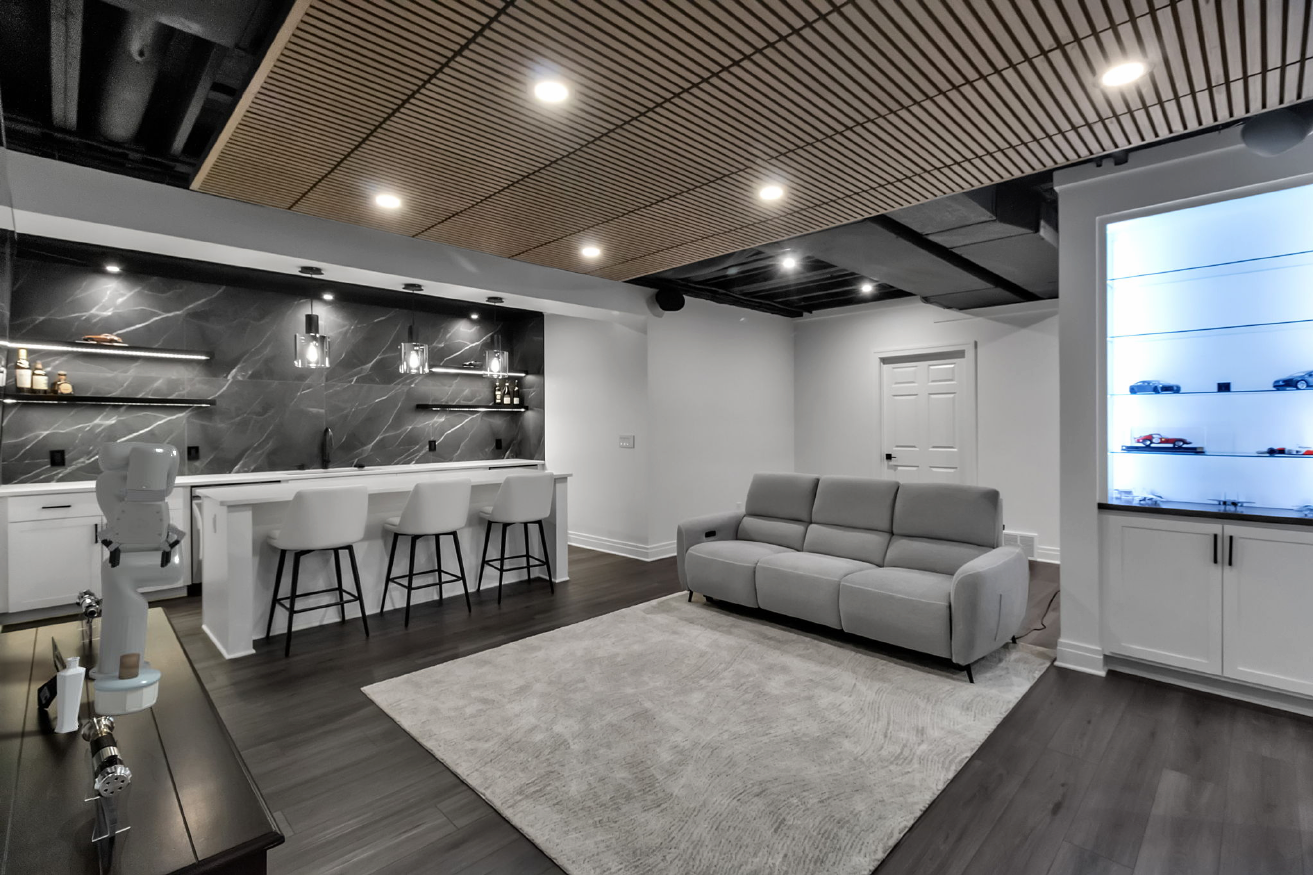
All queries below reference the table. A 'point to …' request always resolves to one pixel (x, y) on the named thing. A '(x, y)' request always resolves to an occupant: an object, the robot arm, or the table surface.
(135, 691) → the bowl
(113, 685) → the lid
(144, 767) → the table surface
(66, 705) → the perfume bottle
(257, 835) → the table surface
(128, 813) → the table surface
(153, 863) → the table surface
